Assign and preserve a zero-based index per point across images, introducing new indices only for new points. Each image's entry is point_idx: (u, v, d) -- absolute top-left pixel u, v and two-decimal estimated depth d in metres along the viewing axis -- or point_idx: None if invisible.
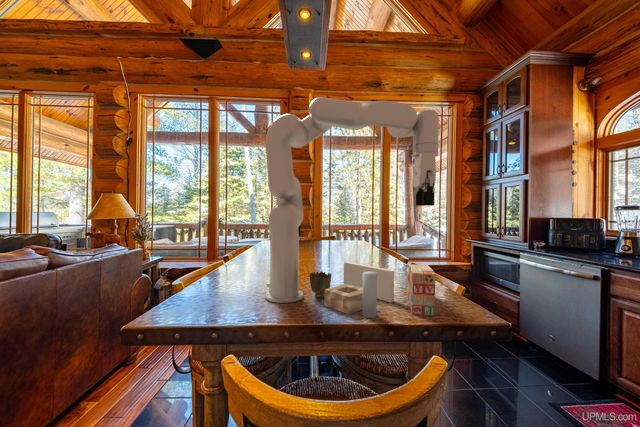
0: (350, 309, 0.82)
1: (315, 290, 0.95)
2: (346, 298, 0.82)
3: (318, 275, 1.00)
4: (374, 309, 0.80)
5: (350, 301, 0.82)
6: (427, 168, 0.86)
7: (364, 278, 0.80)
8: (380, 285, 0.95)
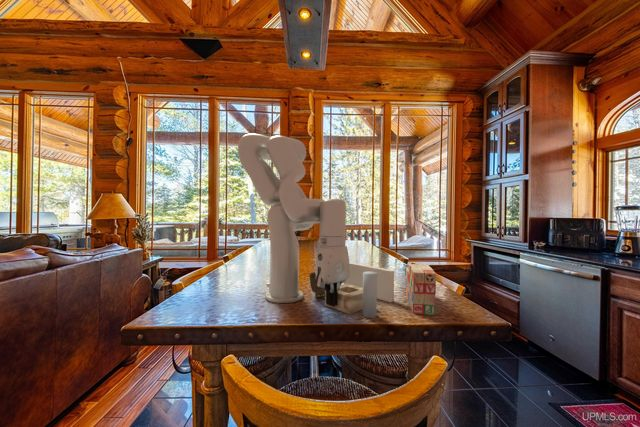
0: (350, 309, 0.82)
1: (315, 290, 0.95)
2: (347, 298, 0.82)
3: None
4: (374, 309, 0.80)
5: (351, 301, 0.82)
6: None
7: (364, 278, 0.80)
8: (380, 285, 0.95)
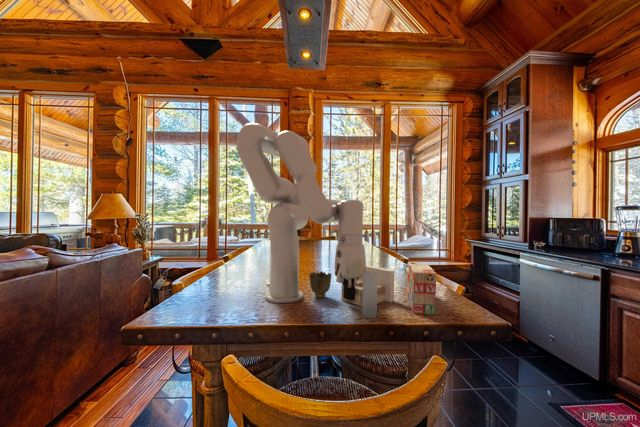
0: None
1: (315, 290, 0.95)
2: None
3: (318, 275, 1.00)
4: (374, 309, 0.80)
5: None
6: None
7: (364, 278, 0.80)
8: None
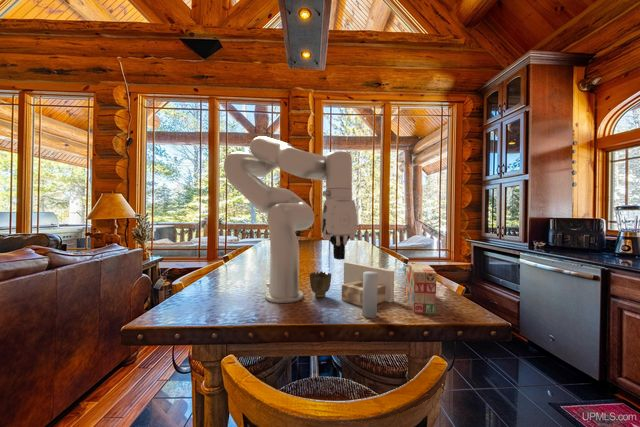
0: None
1: (315, 290, 0.95)
2: None
3: (318, 275, 1.00)
4: (375, 309, 0.80)
5: None
6: None
7: (365, 278, 0.80)
8: None
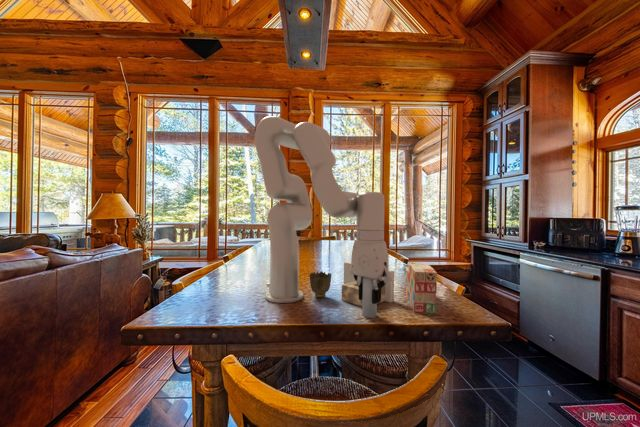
0: None
1: (315, 290, 0.95)
2: None
3: (318, 275, 1.00)
4: (375, 309, 0.80)
5: None
6: (384, 260, 0.77)
7: (364, 278, 0.80)
8: None
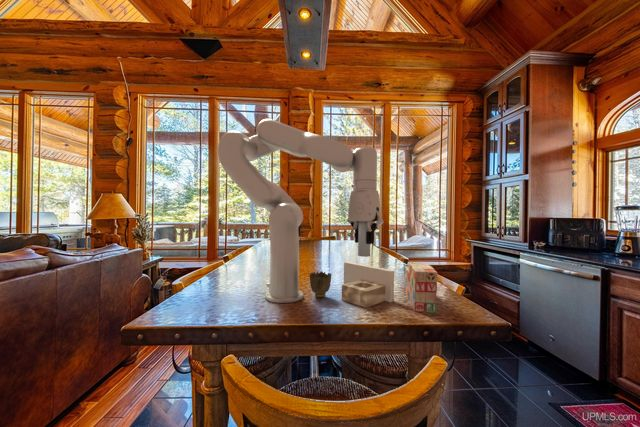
0: (367, 302, 0.87)
1: (315, 290, 0.95)
2: (364, 292, 0.88)
3: (318, 275, 1.00)
4: (368, 249, 0.92)
5: (367, 295, 0.87)
6: (376, 205, 0.89)
7: (360, 222, 0.92)
8: None
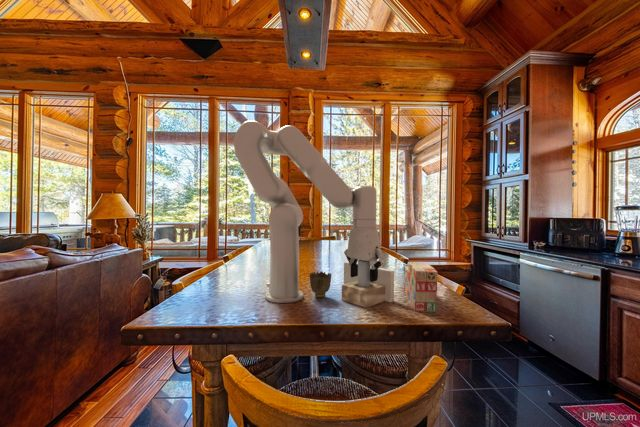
0: (367, 302, 0.87)
1: (315, 290, 0.95)
2: (364, 292, 0.88)
3: (318, 275, 1.00)
4: None
5: (367, 295, 0.87)
6: (376, 244, 0.90)
7: (359, 265, 0.92)
8: None
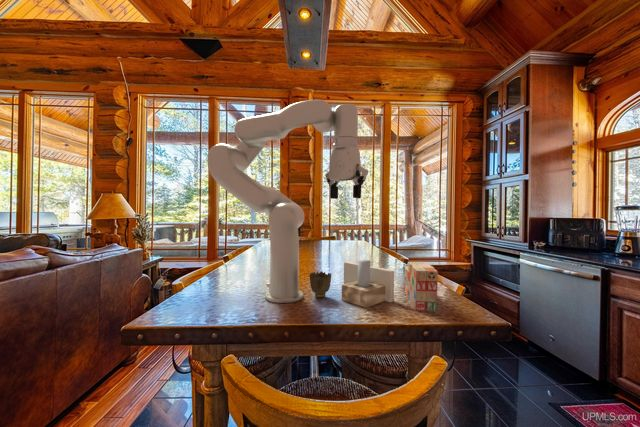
0: (367, 302, 0.87)
1: (315, 290, 0.95)
2: (364, 292, 0.88)
3: (318, 275, 1.00)
4: None
5: (367, 295, 0.87)
6: (356, 162, 0.89)
7: (359, 265, 0.93)
8: None
